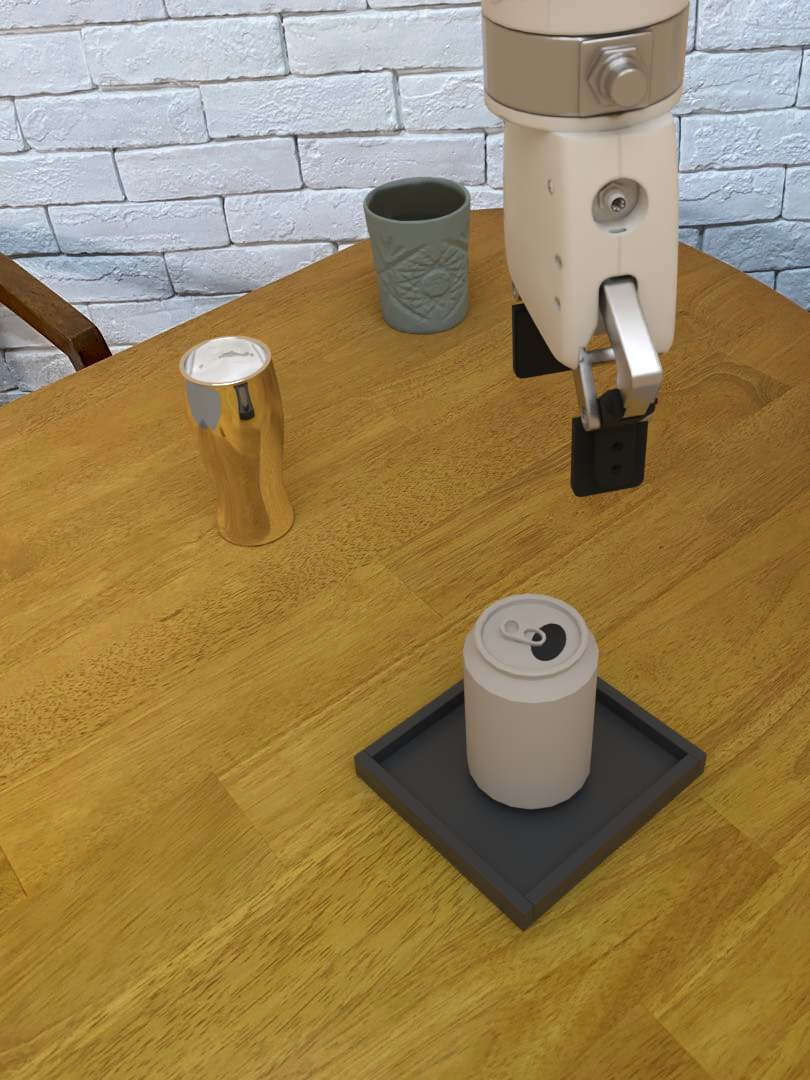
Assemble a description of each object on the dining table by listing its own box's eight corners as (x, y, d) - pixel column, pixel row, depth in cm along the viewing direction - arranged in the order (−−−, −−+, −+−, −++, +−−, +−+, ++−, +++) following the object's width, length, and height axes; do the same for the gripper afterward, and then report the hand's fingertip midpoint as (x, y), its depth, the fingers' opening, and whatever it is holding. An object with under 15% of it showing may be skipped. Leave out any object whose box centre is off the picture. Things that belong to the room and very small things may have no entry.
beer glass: (278, 557, 86) (249, 392, 76) (197, 542, 88) (158, 379, 78) (313, 501, 91) (289, 339, 81) (235, 488, 93) (203, 328, 83)
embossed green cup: (448, 345, 108) (444, 228, 100) (354, 327, 111) (343, 212, 103) (488, 296, 114) (487, 182, 107) (399, 280, 118) (391, 169, 110)
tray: (531, 647, 78) (531, 628, 76) (704, 772, 69) (707, 753, 68) (355, 774, 70) (353, 756, 69) (523, 932, 62) (523, 914, 60)
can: (573, 832, 65) (582, 695, 58) (451, 799, 68) (443, 663, 60) (602, 735, 71) (614, 597, 63) (487, 707, 73) (485, 571, 65)
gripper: (778, 124, 36) (721, 526, 48) (605, -21, 49) (592, 323, 60) (552, 160, 36) (548, 559, 47) (437, 3, 48) (456, 346, 60)
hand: (573, 426), depth 54 cm, fingers open, 9 cm apart
